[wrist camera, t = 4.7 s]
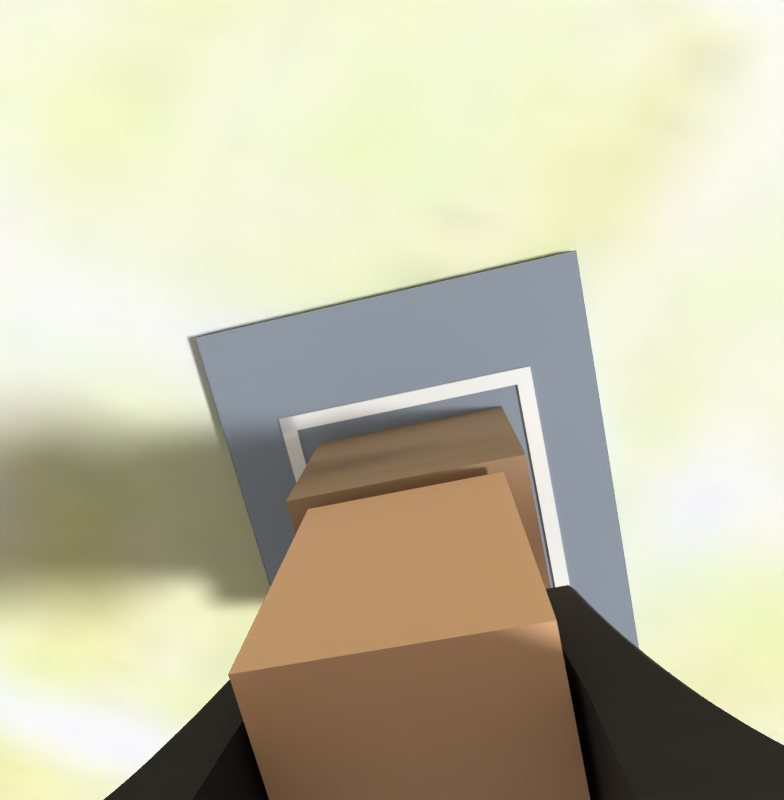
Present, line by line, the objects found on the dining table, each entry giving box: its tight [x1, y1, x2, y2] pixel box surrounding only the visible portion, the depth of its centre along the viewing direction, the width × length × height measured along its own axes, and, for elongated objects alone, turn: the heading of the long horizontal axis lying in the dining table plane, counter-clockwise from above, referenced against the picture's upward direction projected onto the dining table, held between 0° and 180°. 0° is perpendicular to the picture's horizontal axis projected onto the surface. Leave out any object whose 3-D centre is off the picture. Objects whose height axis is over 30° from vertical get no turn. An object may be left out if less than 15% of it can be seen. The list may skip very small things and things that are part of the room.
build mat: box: [196, 251, 639, 648], centre depth 17 cm, size 12×10×1 cm
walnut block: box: [286, 406, 551, 589], centre depth 15 cm, size 5×5×4 cm
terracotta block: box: [228, 472, 590, 800], centre depth 10 cm, size 4×4×5 cm
